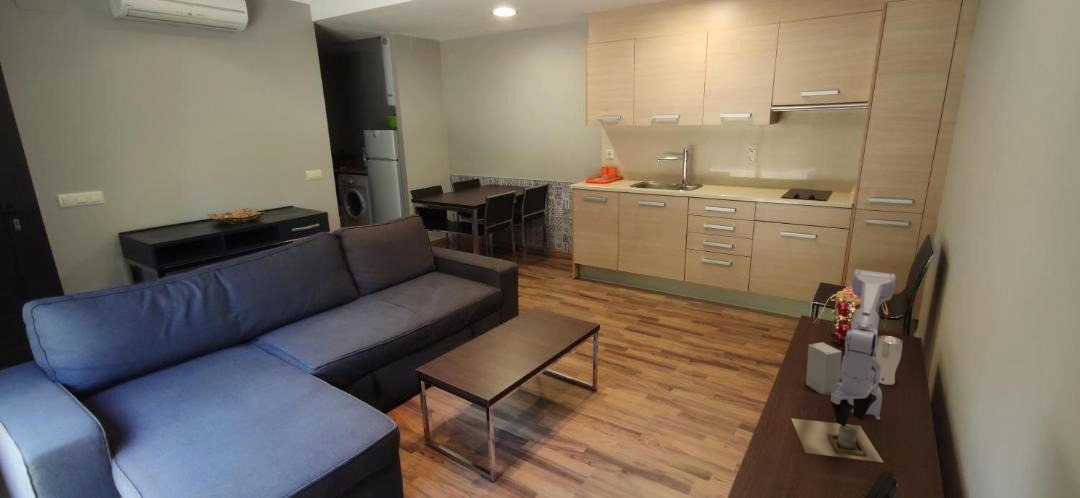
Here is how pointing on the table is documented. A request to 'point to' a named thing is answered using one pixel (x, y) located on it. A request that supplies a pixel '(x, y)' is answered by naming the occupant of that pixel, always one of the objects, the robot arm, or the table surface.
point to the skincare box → (823, 368)
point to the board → (833, 440)
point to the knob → (847, 437)
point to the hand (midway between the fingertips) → (849, 421)
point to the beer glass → (888, 357)
